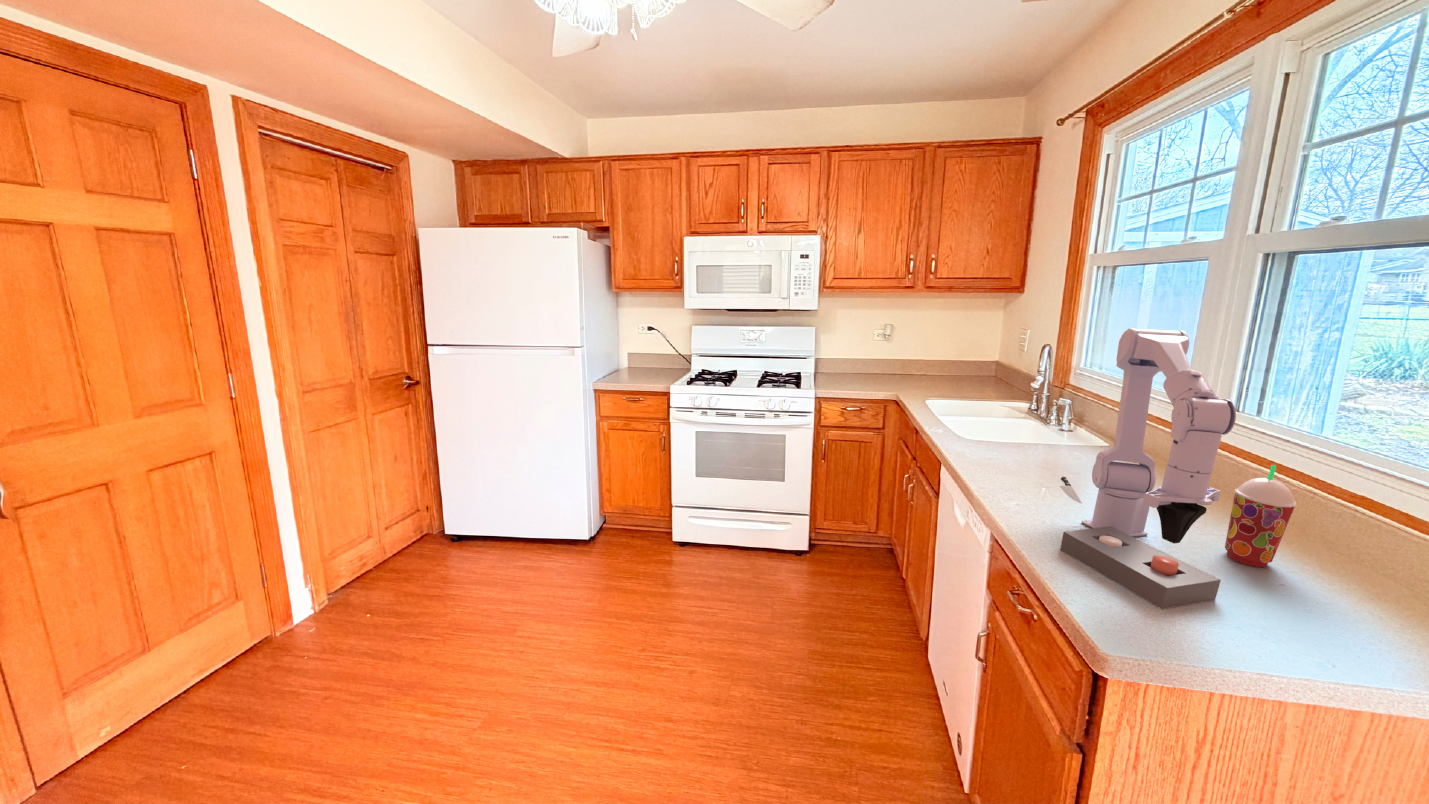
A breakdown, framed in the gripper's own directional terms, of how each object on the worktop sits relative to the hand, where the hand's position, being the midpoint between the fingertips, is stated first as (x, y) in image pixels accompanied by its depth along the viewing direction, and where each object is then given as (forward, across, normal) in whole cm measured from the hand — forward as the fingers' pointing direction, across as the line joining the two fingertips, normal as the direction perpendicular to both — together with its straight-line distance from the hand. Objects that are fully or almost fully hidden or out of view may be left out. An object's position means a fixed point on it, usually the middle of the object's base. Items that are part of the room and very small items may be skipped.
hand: (1170, 540), depth 93 cm
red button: (+7, 0, 0) cm, 7 cm away
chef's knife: (+10, +23, +40) cm, 47 cm away
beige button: (+8, 0, +10) cm, 13 cm away
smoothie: (+10, +28, +4) cm, 30 cm away
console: (+9, 0, +5) cm, 11 cm away
